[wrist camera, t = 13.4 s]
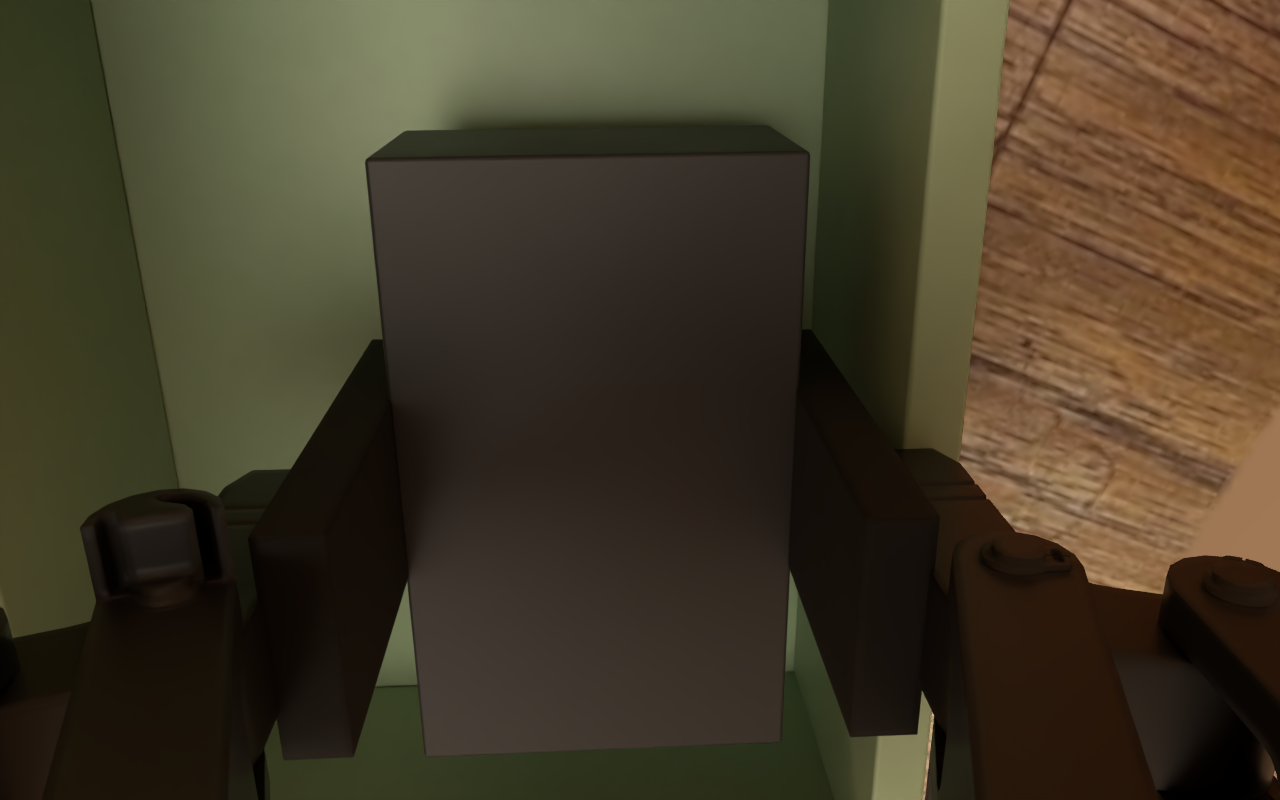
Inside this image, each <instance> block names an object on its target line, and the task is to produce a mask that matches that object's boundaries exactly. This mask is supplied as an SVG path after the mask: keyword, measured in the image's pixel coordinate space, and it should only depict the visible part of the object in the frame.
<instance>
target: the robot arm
mask: <svg viewBox="0 0 1280 800" xmlns="http://www.w3.org/2000/svg"><path fill="white" fill-rule="evenodd" d="M80 531H81V536H82V540H83V545H84V549H85V554H86V558H87V562H88V567H89V571H90V576H91V580H92V585H93V589H94V594H95V598H96V603H95V607H94V611H93V614H92V618H91V621H89V622H86V623H82V624H78V625H74V626H70V627H66V628H61V629H56V630H51V631H46V632H41V633H36V634H31V635H26V636H21V637H16V638H13V637H12V633H11V629H10V625H9V621H8V618H7V616H6V614H5V611H4V609H3V608H1V607H0V800H270V778H269V772H268V767H267V761H266V755H265V749H264V747H265V745H266V742H267V740H268V738H269V735H270V733H271V731H272V728H273V726H274V724H275V721H276V719H277V724H278V730H279V737H280V743H281V749H282V755H283V760H302V759H326V758H351V757H354V755H355V751H356V748H357V745H358V741H359V738H360V735H361V732H362V728H363V725H364V722H365V718H366V715H367V712H368V709H369V705H370V702H371V699H372V695H373V692H374V689H375V686H376V682H377V679H378V676H379V672H380V669H381V666H382V663H383V659H384V656H385V653H386V649H387V646H388V643H389V640H390V636H391V633H392V630H393V626H394V623H395V620H396V616H397V613H398V610H399V607H400V603H401V600H402V597H403V593H404V590H405V587H406V584H407V580H408V572H407V562H406V552H405V542H404V532H403V522H402V513H401V503H400V493H399V483H398V473H397V463H396V453H395V443H394V433H393V423H392V413H391V403H390V400H389V397H388V387H387V377H386V367H385V357H384V347H383V339H372V340H371V342H370V344H369V345H368V347H367V348H366V350H365V352H364V353H363V355H362V356H361V358H360V360H359V361H358V363H357V364H356V366H355V367H354V369H353V371H352V372H351V374H350V375H349V377H348V379H347V380H346V382H345V383H344V385H343V387H342V388H341V390H340V391H339V393H338V395H337V396H336V398H335V399H334V401H333V403H332V404H331V406H330V407H329V409H328V411H327V412H326V414H325V415H324V417H323V419H322V420H321V422H320V423H319V425H318V426H317V428H316V430H315V431H314V433H313V434H312V436H311V438H310V439H309V441H308V442H307V444H306V446H305V447H304V449H303V450H302V452H301V454H300V455H299V457H298V458H297V460H296V462H295V463H294V465H293V466H292V468H291V469H276V470H252V471H250V472H249V473H247V474H245V475H244V476H242V477H240V478H239V479H237V480H236V481H234V482H232V483H231V484H229V485H227V486H226V487H224V488H223V490H222V491H221V492H220V494H219V495H218V496H216V495H214V494H211V493H209V492H207V491H203V490H195V489H187V488H181V489H164V490H156V491H151V492H146V493H141V494H137V495H132V496H129V497H127V498H124V499H121V500H118V501H116V502H113V503H110V504H108V505H106V506H104V507H103V508H101V509H99V510H98V511H96V512H94V513H93V514H91V515H89V516H88V518H87V519H86V520H85V522H84V523H83V524H82V525H81V527H80ZM788 566H789V569H790V571H791V574H792V577H793V580H794V583H795V585H796V588H797V591H798V594H799V596H800V599H801V602H802V605H803V608H804V610H805V613H806V616H807V619H808V621H809V624H810V627H811V630H812V632H813V635H814V638H815V641H816V644H817V646H818V649H819V652H820V655H821V657H822V660H823V663H824V666H825V669H826V671H827V674H828V677H829V680H830V682H831V685H832V688H833V691H834V693H835V696H836V699H837V702H838V705H839V707H840V710H841V713H842V716H843V718H844V721H845V724H846V727H847V730H848V732H849V735H850V737H870V736H895V735H917V734H918V724H919V715H920V705H921V695H922V692H923V694H924V696H925V698H926V700H927V702H928V704H929V706H930V708H931V710H932V712H933V714H934V724H933V733H932V742H931V751H930V760H929V769H928V778H927V787H926V796H925V800H1280V572H1278V571H1276V570H1273V569H1270V568H1268V567H1266V566H1264V565H1263V564H1262V563H1259V562H1256V561H1253V560H1249V559H1246V560H1245V561H1244V560H1242V558H1240V557H1234V556H1223V557H1218V556H1197V557H1189V558H1183V559H1181V560H1180V561H1178V562H1176V563H1174V564H1172V565H1170V568H1169V571H1168V574H1167V577H1166V582H1165V587H1164V592H1163V594H1156V593H1148V592H1141V591H1134V590H1126V589H1119V588H1112V587H1107V586H1102V585H1097V584H1092V583H1089V582H1088V579H1087V576H1086V573H1085V570H1084V567H1083V565H1082V564H1081V563H1080V561H1079V560H1078V558H1077V557H1076V556H1075V555H1074V554H1073V553H1071V552H1070V551H1068V550H1067V549H1065V548H1064V547H1062V546H1060V545H1059V544H1057V543H1054V542H1051V541H1049V540H1046V539H1043V538H1040V537H1038V536H1034V535H1029V534H1023V533H1018V532H1015V531H1014V529H1013V528H1012V527H1011V526H1010V524H1009V523H1008V522H1007V521H1006V519H1005V518H1004V517H1003V516H1002V515H1001V513H1000V512H999V511H998V510H997V508H996V507H995V506H994V505H993V503H992V502H991V501H990V500H989V499H986V495H985V494H984V492H983V491H982V490H981V489H980V487H979V486H978V485H975V484H974V480H973V479H972V478H971V476H970V475H969V474H968V473H967V471H966V470H965V469H964V468H963V467H962V465H961V464H960V463H958V462H957V461H955V460H953V459H951V458H949V457H947V456H946V455H944V454H942V453H940V452H938V451H937V450H935V449H933V448H921V449H893V447H892V446H891V444H890V443H889V441H888V440H887V439H886V437H885V436H884V434H883V433H882V431H881V430H880V428H879V427H878V425H877V424H876V423H875V421H874V420H873V418H872V417H871V415H870V414H869V412H868V411H867V410H866V408H865V407H864V405H863V404H862V402H861V401H860V399H859V398H858V397H857V395H856V394H855V392H854V391H853V389H852V388H851V386H850V385H849V384H848V382H847V381H846V379H845V378H844V376H843V375H842V373H841V372H840V370H839V369H838V368H837V366H836V365H835V363H834V362H833V360H832V359H831V357H830V356H829V355H828V353H827V352H826V350H825V349H824V347H823V346H822V344H821V343H820V342H819V340H818V339H817V337H816V336H815V334H814V333H813V331H812V330H811V329H804V330H802V338H801V358H800V379H799V389H798V390H797V395H796V416H795V437H794V458H793V479H792V499H791V520H790V541H789V562H788ZM1274 771H1276V774H1277V779H1276V778H1275V776H1274V775H1273V774H1274Z"/></svg>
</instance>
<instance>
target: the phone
mask: <svg viewBox="0 0 1280 800" xmlns="http://www.w3.org/2000/svg"><path fill="white" fill-rule="evenodd" d="M365 169H366V179H367V189H368V199H369V208H370V218H371V228H372V238H373V248H374V258H375V268H376V278H377V288H378V298H379V308H380V318H381V328H382V337H383V347H384V357H385V367H386V377H387V387H388V397H389V400H390V403H391V413H392V423H393V433H394V443H395V453H396V463H397V473H398V483H399V493H400V503H401V513H402V522H403V532H404V542H405V552H406V562H407V572H408V580H407V585H408V595H409V605H410V615H411V625H412V635H413V645H414V655H415V665H416V675H417V685H418V695H419V705H420V714H421V724H422V734H423V744H424V753H425V756H426V757H445V756H469V755H493V754H517V753H540V752H564V751H588V750H612V749H636V748H659V747H683V746H707V745H731V744H754V743H778V742H781V740H782V727H783V706H784V686H785V665H786V645H787V624H788V604H789V584H790V569H789V566H788V562H789V541H790V520H791V499H792V479H793V458H794V437H795V416H796V395H797V390H798V389H799V379H800V358H801V338H802V317H803V297H804V276H805V256H806V235H807V215H808V194H809V174H810V153H809V152H808V151H807V150H805V149H804V148H802V147H801V146H799V145H798V144H796V143H795V142H793V141H792V140H790V139H788V138H787V137H785V136H784V135H782V134H781V133H779V132H778V131H776V130H775V129H773V128H772V127H770V126H768V125H750V126H681V127H613V128H544V129H476V130H407V131H404V132H402V133H401V134H400V135H398V136H397V137H396V138H394V139H393V140H391V141H390V142H389V143H387V144H386V145H385V146H383V147H382V148H381V149H379V150H378V151H376V152H375V153H374V154H372V155H371V156H370V157H368V158H367V159H366V161H365Z"/></svg>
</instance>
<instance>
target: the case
mask: <svg viewBox="0 0 1280 800" xmlns="http://www.w3.org/2000/svg"><path fill="white" fill-rule="evenodd" d="M1009 1H1010V0H0V607H1V608H3V609H4V611H5V614H6V616H7V618H8V621H9V625H10V629H11V633H12V637H13V638H16V637H21V636H26V635H31V634H36V633H41V632H46V631H51V630H56V629H61V628H66V627H70V626H74V625H78V624H82V623H86V622H89V621H91V618H92V614H93V611H94V607H95V603H96V598H95V594H94V589H93V585H92V580H91V576H90V571H89V567H88V562H87V558H86V554H85V549H84V545H83V540H82V536H81V531H80V527H81V525H82V524H83V523H84V522H85V520H86V519H87V518H88V516H89V515H91V514H93V513H94V512H96V511H98V510H99V509H101V508H103V507H104V506H106V505H108V504H110V503H113V502H116V501H118V500H121V499H124V498H127V497H129V496H132V495H137V494H141V493H146V492H151V491H156V490H164V489H181V488H187V489H195V490H203V491H207V492H209V493H211V494H214V495H216V496H218V495H219V494H220V492H221V491H222V490H223V488H224V487H226V486H227V485H229V484H231V483H232V482H234V481H236V480H237V479H239V478H240V477H242V476H244V475H245V474H247V473H249V472H250V471H252V470H276V469H291V468H292V466H293V465H294V463H295V462H296V460H297V458H298V457H299V455H300V454H301V452H302V450H303V449H304V447H305V446H306V444H307V442H308V441H309V439H310V438H311V436H312V434H313V433H314V431H315V430H316V428H317V426H318V425H319V423H320V422H321V420H322V419H323V417H324V415H325V414H326V412H327V411H328V409H329V407H330V406H331V404H332V403H333V401H334V399H335V398H336V396H337V395H338V393H339V391H340V390H341V388H342V387H343V385H344V383H345V382H346V380H347V379H348V377H349V375H350V374H351V372H352V371H353V369H354V367H355V366H356V364H357V363H358V361H359V360H360V358H361V356H362V355H363V353H364V352H365V350H366V348H367V347H368V345H369V344H370V342H371V340H372V339H383V337H382V328H381V318H380V308H379V298H378V288H377V278H376V268H375V258H374V248H373V238H372V228H371V218H370V208H369V199H368V189H367V179H366V169H365V161H366V159H367V158H368V157H370V156H371V155H372V154H374V153H375V152H376V151H378V150H379V149H381V148H382V147H383V146H385V145H386V144H387V143H389V142H390V141H391V140H393V139H394V138H396V137H397V136H398V135H400V134H401V133H402V132H404V131H407V130H476V129H544V128H613V127H681V126H750V125H768V126H770V127H772V128H773V129H775V130H776V131H778V132H779V133H781V134H782V135H784V136H785V137H787V138H788V139H790V140H792V141H793V142H795V143H796V144H798V145H799V146H801V147H802V148H804V149H805V150H807V151H808V152H809V153H810V174H809V194H808V215H807V235H806V256H805V276H804V297H803V317H802V330H804V329H811V330H812V331H813V333H814V334H815V336H816V337H817V339H818V340H819V342H820V343H821V344H822V346H823V347H824V349H825V350H826V352H827V353H828V355H829V356H830V357H831V359H832V360H833V362H834V363H835V365H836V366H837V368H838V369H839V370H840V372H841V373H842V375H843V376H844V378H845V379H846V381H847V382H848V384H849V385H850V386H851V388H852V389H853V391H854V392H855V394H856V395H857V397H858V398H859V399H860V401H861V402H862V404H863V405H864V407H865V408H866V410H867V411H868V412H869V414H870V415H871V417H872V418H873V420H874V421H875V423H876V424H877V425H878V427H879V428H880V430H881V431H882V433H883V434H884V436H885V437H886V439H887V440H888V441H889V443H890V444H891V446H892V447H893V449H921V448H933V449H935V450H937V451H938V452H940V453H942V454H944V455H946V456H947V457H949V458H951V459H953V460H955V461H957V462H958V463H959V458H960V449H961V440H962V431H963V422H964V413H965V404H966V394H967V385H968V376H969V367H970V358H971V349H972V340H973V330H974V321H975V312H976V303H977V294H978V285H979V276H980V266H981V257H982V248H983V239H984V230H985V221H986V212H987V202H988V193H989V184H990V175H991V166H992V157H993V148H994V139H995V129H996V120H997V111H998V102H999V93H1000V84H1001V75H1002V65H1003V56H1004V47H1005V38H1006V29H1007V20H1008V11H1009ZM931 714H932V710H931V708H930V706H929V704H928V702H927V700H926V698H925V696H924V694H923V692H922V695H921V705H920V715H919V724H918V734H917V735H895V736H870V737H850V735H849V732H848V730H847V727H846V724H845V721H844V718H843V716H842V713H841V710H840V707H839V705H838V702H837V699H836V696H835V693H834V691H833V688H832V685H831V682H830V680H829V677H828V674H827V671H826V669H825V666H824V663H823V660H822V657H821V655H820V652H819V649H818V646H817V644H816V641H815V638H814V635H813V632H812V630H811V627H810V624H809V621H808V619H807V616H806V613H805V610H804V608H803V605H802V602H801V599H800V596H799V594H798V591H797V588H796V585H795V583H794V580H793V577H792V574H791V571H790V584H789V604H788V624H787V645H786V665H785V686H784V706H783V727H782V740H781V742H778V743H754V744H731V745H707V746H683V747H659V748H636V749H612V750H588V751H564V752H540V753H517V754H493V755H469V756H445V757H426V756H425V753H424V744H423V734H422V724H421V714H420V705H419V695H418V685H417V675H416V665H415V655H414V645H413V635H412V625H411V615H410V605H409V595H408V585H407V584H406V587H405V590H404V593H403V597H402V600H401V603H400V607H399V610H398V613H397V616H396V620H395V623H394V626H393V630H392V633H391V636H390V640H389V643H388V646H387V649H386V653H385V656H384V659H383V663H382V666H381V669H380V672H379V676H378V679H377V682H376V686H375V689H374V692H373V695H372V699H371V702H370V705H369V709H368V712H367V715H366V718H365V722H364V725H363V728H362V732H361V735H360V738H359V741H358V745H357V748H356V751H355V755H354V757H351V758H326V759H302V760H283V755H282V749H281V743H280V737H279V730H278V724H277V719H276V721H275V724H274V726H273V728H272V731H271V733H270V735H269V738H268V740H267V742H266V745H265V747H264V749H265V755H266V761H267V767H268V772H269V778H270V800H922V797H923V787H924V778H925V769H926V760H927V751H928V742H929V733H930V723H931Z"/></svg>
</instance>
